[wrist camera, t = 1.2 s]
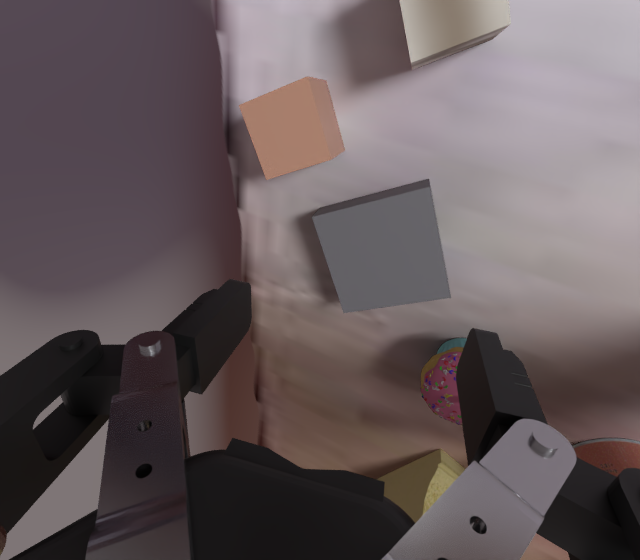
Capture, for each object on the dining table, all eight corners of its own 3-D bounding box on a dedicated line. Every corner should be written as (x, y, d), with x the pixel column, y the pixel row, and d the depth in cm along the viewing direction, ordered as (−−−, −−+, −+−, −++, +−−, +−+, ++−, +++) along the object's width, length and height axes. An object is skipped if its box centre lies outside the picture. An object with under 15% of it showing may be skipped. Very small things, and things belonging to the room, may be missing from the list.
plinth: (428, 178, 29) (429, 186, 26) (448, 282, 32) (450, 297, 30) (320, 207, 32) (311, 217, 30) (348, 297, 36) (343, 313, 33)
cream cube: (482, -59, 22) (500, -104, 17) (491, 39, 24) (510, 23, 19) (396, -18, 24) (390, -48, 19) (412, 70, 26) (411, 62, 21)
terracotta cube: (326, 80, 27) (307, 76, 23) (345, 150, 29) (331, 159, 25) (267, 104, 29) (238, 105, 25) (289, 168, 31) (266, 179, 27)
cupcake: (420, 321, 35) (421, 411, 25) (511, 323, 33) (555, 425, 22) (420, 383, 39) (421, 485, 29) (502, 390, 37) (535, 503, 26)
